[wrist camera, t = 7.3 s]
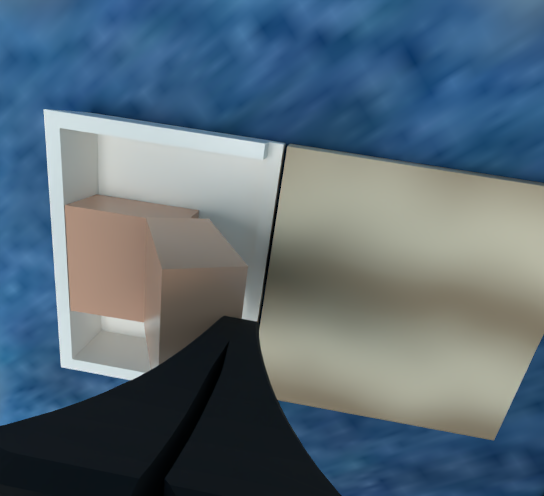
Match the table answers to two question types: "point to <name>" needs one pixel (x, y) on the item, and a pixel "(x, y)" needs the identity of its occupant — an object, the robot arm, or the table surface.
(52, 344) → the table surface
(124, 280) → the tile rear
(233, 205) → the box
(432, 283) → the board
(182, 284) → the tile front
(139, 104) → the table surface
